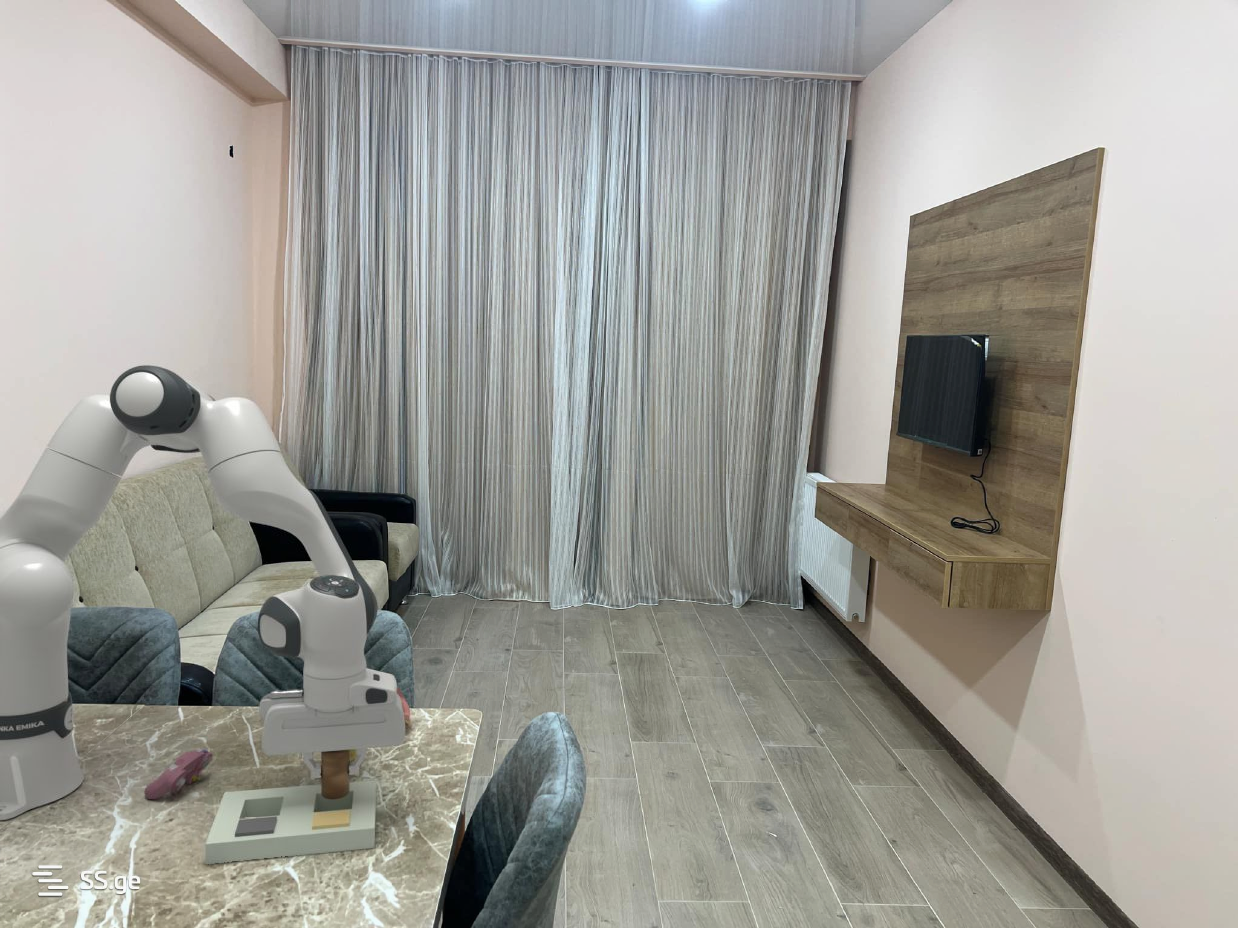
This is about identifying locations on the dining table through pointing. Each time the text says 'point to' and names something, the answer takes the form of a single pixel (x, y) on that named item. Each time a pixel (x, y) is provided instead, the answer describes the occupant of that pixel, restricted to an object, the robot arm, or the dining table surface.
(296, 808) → the socket block
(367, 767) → the dining table surface
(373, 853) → the dining table surface
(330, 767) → the plug
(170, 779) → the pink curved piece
